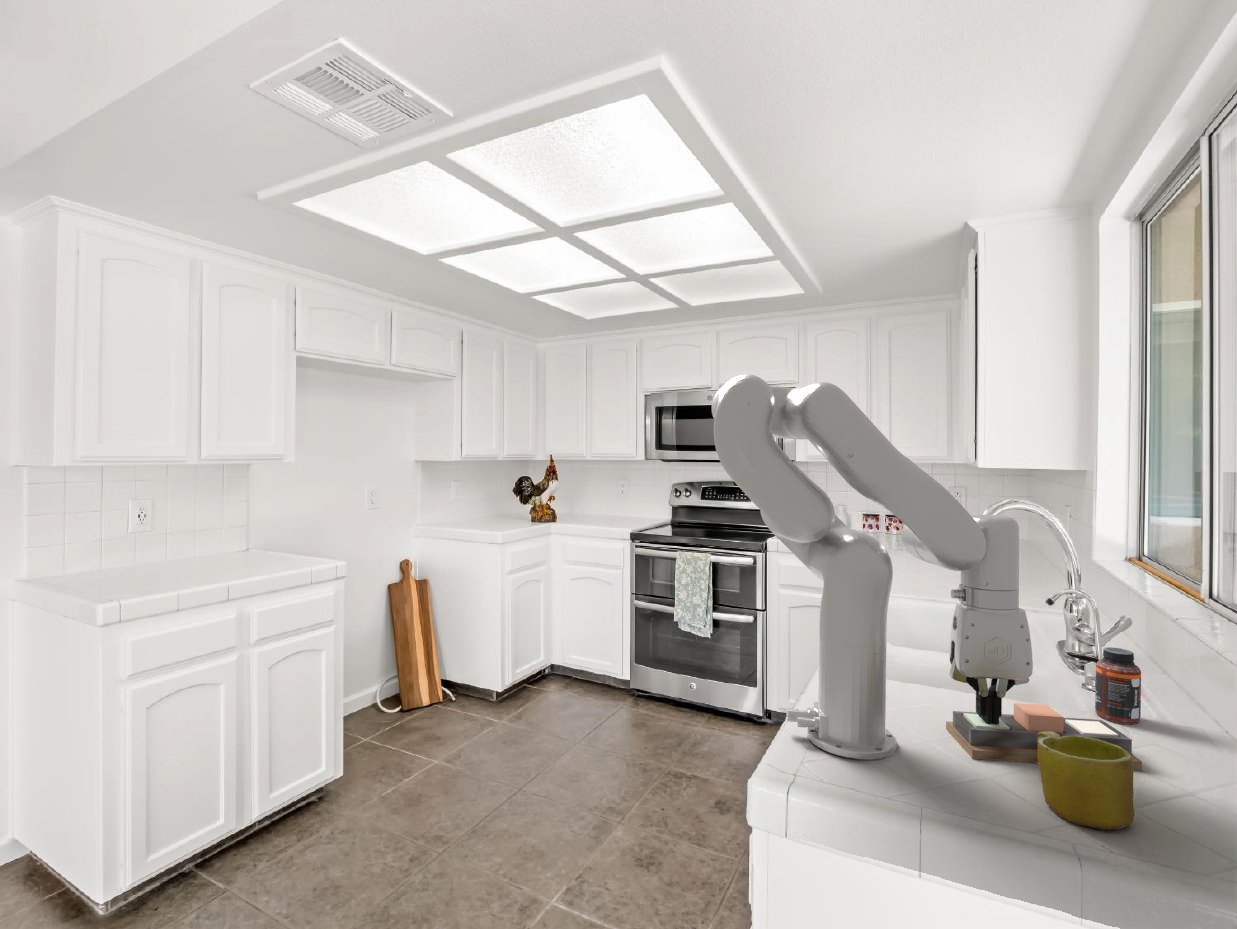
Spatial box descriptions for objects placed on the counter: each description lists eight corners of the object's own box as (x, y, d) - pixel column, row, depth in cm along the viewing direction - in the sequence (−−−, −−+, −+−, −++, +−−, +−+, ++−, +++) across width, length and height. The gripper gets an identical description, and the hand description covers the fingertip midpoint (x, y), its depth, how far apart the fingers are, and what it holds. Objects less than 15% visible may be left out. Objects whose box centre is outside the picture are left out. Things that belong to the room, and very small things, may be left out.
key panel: (972, 758, 91) (972, 734, 91) (946, 729, 100) (946, 706, 100) (1142, 770, 88) (1142, 745, 88) (1097, 738, 98) (1098, 715, 97)
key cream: (1082, 749, 91) (1083, 732, 91) (1064, 735, 96) (1065, 719, 96) (1118, 751, 90) (1118, 734, 90) (1098, 737, 95) (1098, 721, 95)
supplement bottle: (1149, 727, 102) (1150, 657, 102) (1107, 724, 103) (1108, 654, 103) (1127, 713, 108) (1128, 646, 108) (1087, 709, 109) (1088, 644, 109)
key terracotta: (1028, 731, 92) (1029, 715, 92) (1013, 718, 97) (1013, 703, 97) (1063, 733, 91) (1063, 717, 91) (1046, 720, 96) (1046, 704, 96)
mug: (1177, 830, 70) (1136, 736, 72) (1078, 849, 72) (1042, 756, 74) (1119, 796, 82) (1085, 716, 84) (1035, 812, 83) (1005, 733, 86)
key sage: (975, 742, 93) (976, 725, 93) (963, 728, 98) (963, 713, 98) (1009, 744, 92) (1009, 727, 92) (995, 730, 97) (995, 715, 97)
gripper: (945, 602, 92) (944, 728, 92) (1057, 605, 90) (1056, 734, 90) (927, 591, 100) (927, 708, 100) (1030, 594, 97) (1029, 713, 98)
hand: (988, 720), depth 95 cm, fingers closed
